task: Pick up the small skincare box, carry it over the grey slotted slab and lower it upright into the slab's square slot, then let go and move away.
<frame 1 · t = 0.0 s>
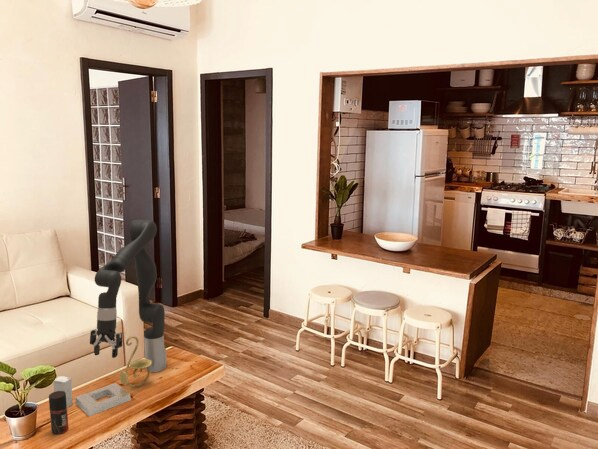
hand: (105, 356, 207), 22 cm above the table, tool pointing down, fingers open, 8 cm apart
wall sconce: (137, 387, 227), on the table
skincare box: (64, 405, 211), on the table
grey slotted slab: (103, 401, 214), on the table
deodorant: (60, 430, 193), on the table
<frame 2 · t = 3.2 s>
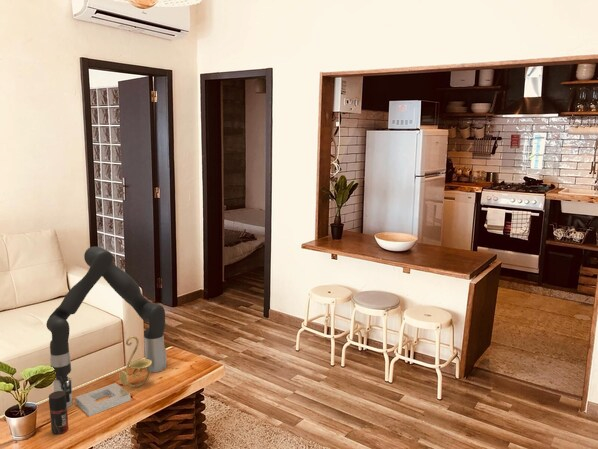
hand: (63, 398, 210), 3 cm above the table, tool pointing down, fingers closed on skincare box, 7 cm apart
skincare box: (64, 405, 211), on the table, touching gripper
everything else where it was.
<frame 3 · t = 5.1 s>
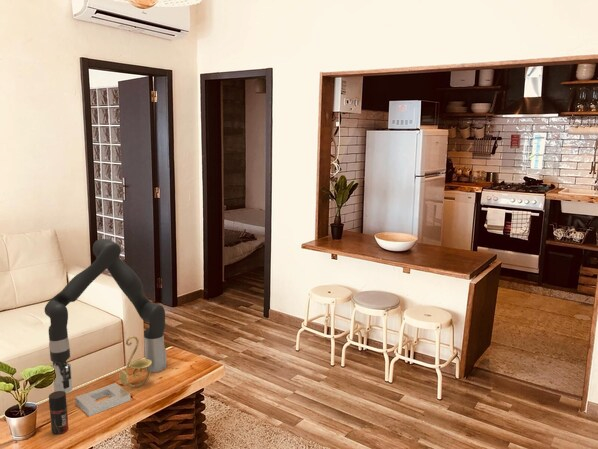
hand: (63, 384, 210), 9 cm above the table, tool pointing down, fingers closed on skincare box, 7 cm apart
skincare box: (63, 391, 210), point 6 cm above the table, touching gripper
everything else where it was.
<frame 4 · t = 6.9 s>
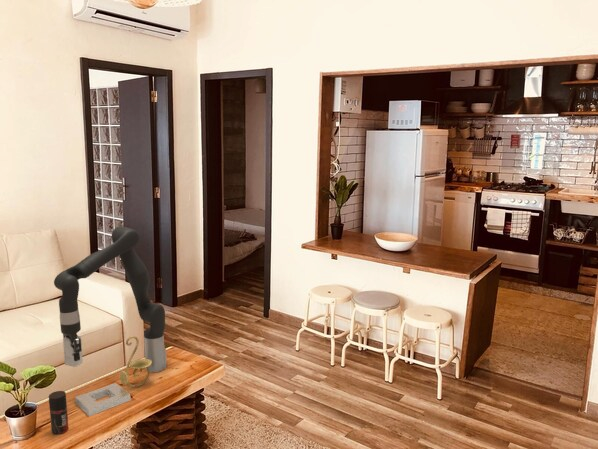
hand: (73, 357, 209), 21 cm above the table, tool pointing down, fingers closed on skincare box, 7 cm apart
skincare box: (74, 364, 209), point 18 cm above the table, touching gripper
everything else where it was.
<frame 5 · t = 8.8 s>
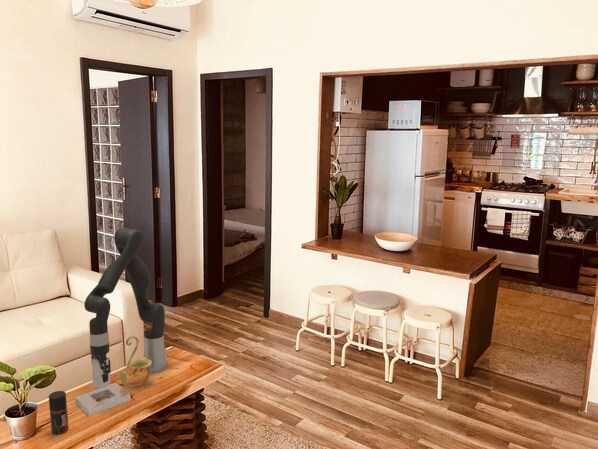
hand: (101, 378, 212), 11 cm above the table, tool pointing down, fingers closed on skincare box, 7 cm apart
skincare box: (102, 385, 212), point 8 cm above the table, touching gripper
everything else where it was.
when the fingers open (5 cm above the table, at t = 10.6 s): skincare box drops 2 cm, resting in grey slotted slab.
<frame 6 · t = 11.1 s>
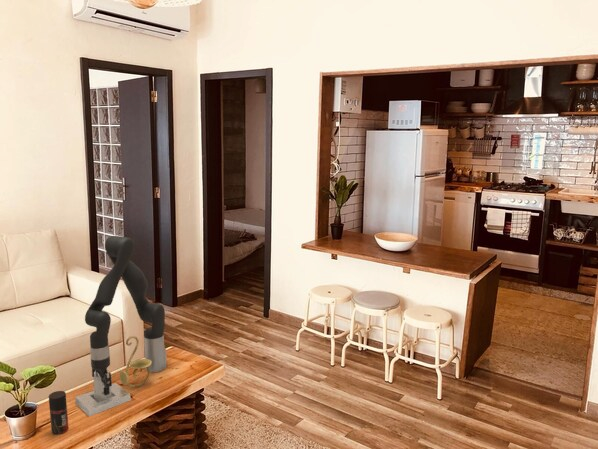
hand: (102, 391, 213), 5 cm above the table, tool pointing down, fingers open, 8 cm apart
skincare box: (103, 402, 214), resting in grey slotted slab
everything else where it was.
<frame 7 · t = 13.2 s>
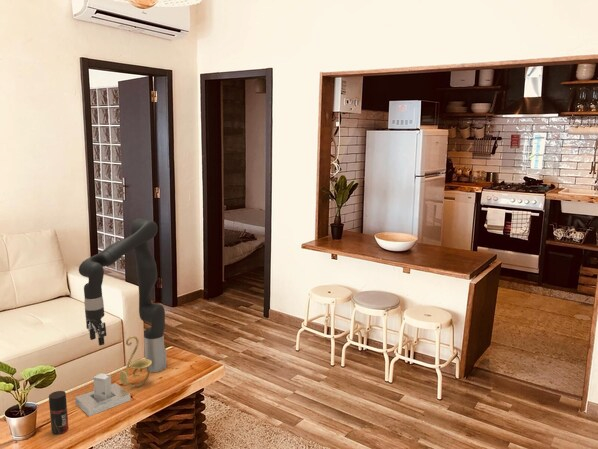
hand: (97, 342, 215), 25 cm above the table, tool pointing down, fingers open, 8 cm apart
nothing on the table moved.
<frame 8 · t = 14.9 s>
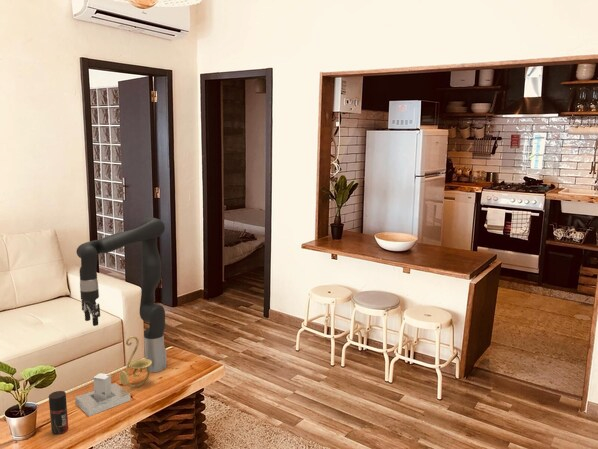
hand: (91, 322, 223), 30 cm above the table, tool pointing down, fingers open, 8 cm apart
nothing on the table moved.
at the end: skincare box 0.1 cm off-centre on the grey slotted slab, point 0.0 cm above the grey slotted slab's base; skincare box tilted 0°; the gripper is holding nothing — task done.
